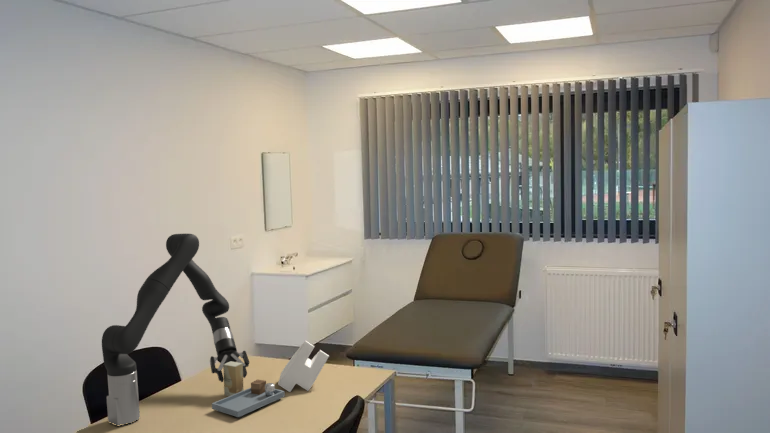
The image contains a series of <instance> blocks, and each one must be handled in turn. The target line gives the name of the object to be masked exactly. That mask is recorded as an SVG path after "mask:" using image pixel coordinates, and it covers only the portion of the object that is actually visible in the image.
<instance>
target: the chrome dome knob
mask: <svg viewBox="0 0 770 433" xmlns="http://www.w3.org/2000/svg"><path fill="white" fill-rule="evenodd" d="M275 389H276V387H275V383H274V382H268V383H267V382H266V384H265V396H266V397H270V396H272V395H274V394H275Z"/></svg>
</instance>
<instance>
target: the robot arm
mask: <svg viewBox="0 0 770 433" xmlns="http://www.w3.org/2000/svg"><path fill="white" fill-rule="evenodd" d="M199 240H200V239H199V238H198V237H197V235H196V234H193V233H175V234H171V235H170V236H168V237H167V239H166V242H165V248H166V251H167V253H168V255H170V258H169V259H168V260H167V261H166V262H164V263H163V264H162V265H161V266H159V267H158V268H157V269H155V270H153V272H152V273H150V274H149V275H148V277H147V278H146V279H145V281H144V282H143V283H142V285H141V287H139V290H138V291H137V297H136V307H135V311H134V313H133V316H132V317H131V319H130V320H129V322H128V323H127V324H126V325H117V324H114V325H110V326H108V327H106V329H105V330H104V331H103V333H102V337H101V349H102V350H101V351H102V359H103V365H104V367H105V369H106V371H107V372H106V374H107V386H108V387H107V388H108V395H106V407H107V408H106V410H107V411H106V412H107V420H108V421H109V422H111V423H114V424H116V425H120V424H126V423H131V422H133V421H136V420H138V419H139V417H140V418H141V416H140V400H139V399H140V398H139V386H138V383H139V382H138V371H137V370H138V369H137V362H136V361H135V360H134V359H133V358H132V357H131V356H129V354H131V353H133V352H134V351H135V350H136V349H137V348H138V346H139V344H140V342H141V341H142V339H143V337H144V335H145V333H146V330H147V329H148V327H149V325H150V323H151V321H152V320H153V318H154V316H155V314H156V313H157V312H158V310H159V308H160V306H161V305H162V304H163V302H164V300H165V299H166V298H167V296H168V295H169V293H170V292H171V289H172V287H174V284H175V283H176V282H177V280H178V279H179V277H180V276H181V274H182V273H184V274H185V276H186V277H187V279H188V280H189V282H190V283H191V285H192V287H193V288H194V290H195V292H196V294H197V295H198V297H199V299H200V300H202V301H207V302H205V303H203V305H202V307H201V308H202V309H201V310H202V313H203V315H204V318H206V320H207V321H208V323H209V325H210V328H211V333H212V337H213V338H212V339H213V345H214V347H215V351H216V355H217V356H215V357H214V356H213V355H212V356H210V359H209V363H210V369H211V370H210V371H211V373H212V374H217V377H218V378H217V379H218V381H219V382H221V383H224V373H223V364H225V363H228V362H230V361H232V362H238V363H243V379H245V378H246V376H247V375H248V372H247V368H248V367H249V364H250V360H249V356H248V354H247V351H246V350H243V351H242V352H238V350H237V347H236V346H237V345H236V342H235V338H234V335H233V333H232V329H231V326H230V322H229V319H228V318H227V317H225V316H222V315H224V314H226V313H228V312H229V311H230V310H229V309H230V303H229V300H227V299H226V297H224V296H223V295H222V294H221V293H220V292H219V291H218V290H217V288H216V287H215V285H214V283H213V281H212V279H211V278H210V277H209V276H210V275H208V274H207V272H205V271H204V270H203V269H202V268H201V267H200V266H199V265H198V264H197V263H196V262H195V261H194V260H193V258H194V257H195V256H196V254H197V253H198V251H199V247H200V241H199ZM239 357H240V358H241V359H242V360H243V361H242V360H241V359H240V358H239ZM217 362H218V363H219V365H218V367H216V363H217ZM139 420H140V419H139ZM139 420H138V421H139ZM136 422H137V421H136ZM131 424H132V423H131Z"/></svg>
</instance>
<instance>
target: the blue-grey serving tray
mask: <svg viewBox="0 0 770 433" xmlns="http://www.w3.org/2000/svg"><path fill="white" fill-rule="evenodd" d="M284 397H286V393H285V391H284V390H282V389H277V388H275V394H274V395H272V396H270V397H266V396H265V392H264V393H262V394H260V395H258V394H252V393H251V387H248V388H246V389H243V391H241V392H238V393H236V394H234V395H231V396H227V397H224V398H222V399H219V400H216V401H214V402H212V403H211V410H214V411H216V412H218V413H223V414H227V415H230V416H234V417H235V418H236V419H241V418H243V416H244V415H247V414H249V413H251V412H253V411H255V410H257V409H260V408H261V407H264V406H267V405H268V404H269V405H270V404H271V403H273V402H279V401H280V400H281V399H283V398H284Z"/></svg>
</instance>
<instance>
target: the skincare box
mask: <svg viewBox="0 0 770 433" xmlns="http://www.w3.org/2000/svg"><path fill="white" fill-rule="evenodd" d="M243 363H244V362H243ZM243 363H238V362H232V361H230V362H228V363H225V364H223V368H222V370H223V379H224V380H223V388H224V389H223V392H224V394H223V395H224V396H227V397H229V396H231V395H234V394H236V393H238V392H241V391H243V390H244V378H243Z"/></svg>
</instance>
